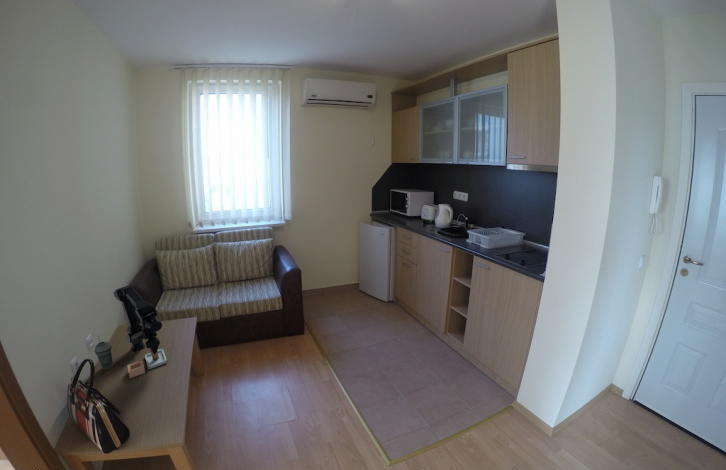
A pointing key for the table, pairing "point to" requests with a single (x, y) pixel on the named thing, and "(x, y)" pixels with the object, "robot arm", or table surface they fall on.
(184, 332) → the table surface
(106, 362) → the beverage cup
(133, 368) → the holder
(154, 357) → the dowel
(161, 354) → the tray
